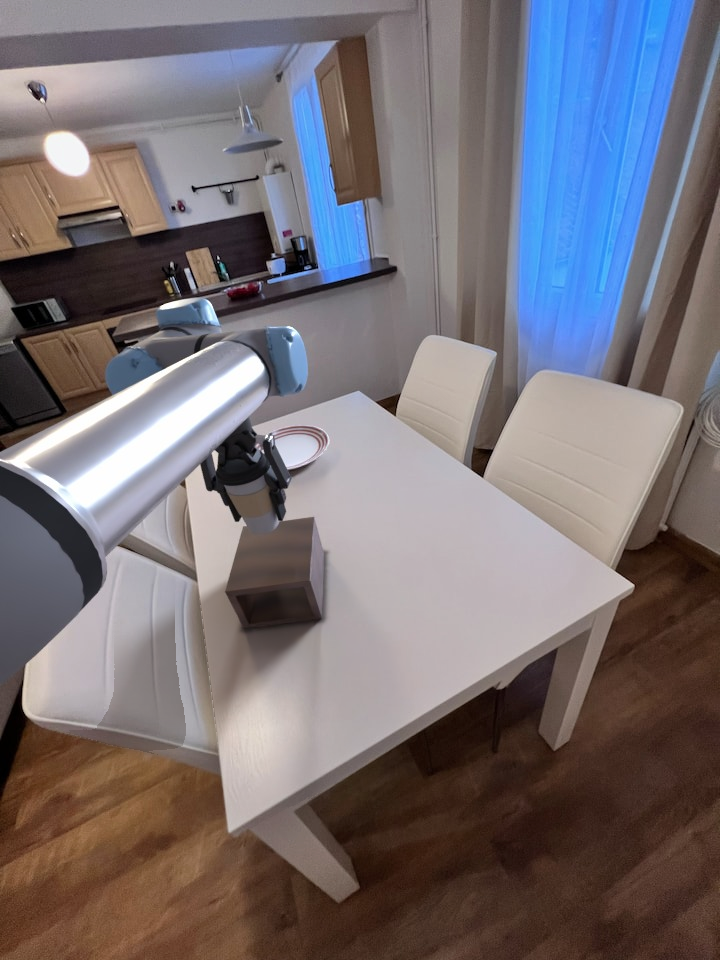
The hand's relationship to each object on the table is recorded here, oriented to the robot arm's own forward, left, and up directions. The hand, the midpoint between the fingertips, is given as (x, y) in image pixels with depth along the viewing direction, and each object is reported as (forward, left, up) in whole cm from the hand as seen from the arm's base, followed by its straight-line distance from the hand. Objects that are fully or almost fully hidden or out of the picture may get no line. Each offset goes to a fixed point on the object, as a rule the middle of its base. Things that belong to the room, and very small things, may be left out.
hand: (260, 516), depth 76 cm
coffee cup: (0, 0, -2) cm, 2 cm away
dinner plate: (+49, +30, -21) cm, 61 cm away
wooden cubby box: (0, 0, -21) cm, 21 cm away
